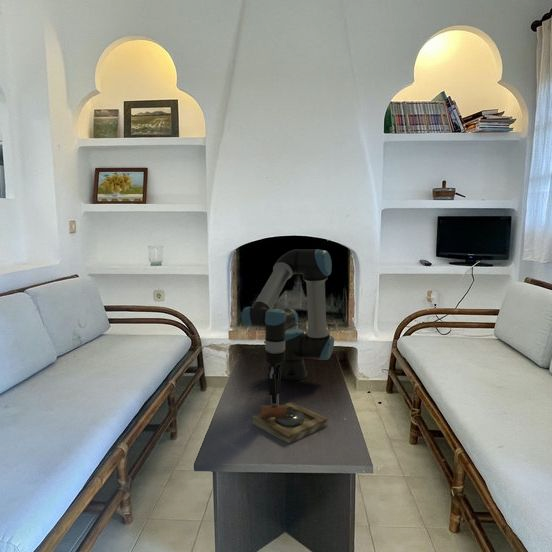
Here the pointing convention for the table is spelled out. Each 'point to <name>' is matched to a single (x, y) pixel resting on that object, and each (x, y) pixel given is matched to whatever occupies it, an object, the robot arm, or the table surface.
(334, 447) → the table surface
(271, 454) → the table surface
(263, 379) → the table surface
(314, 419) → the panel
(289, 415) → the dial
